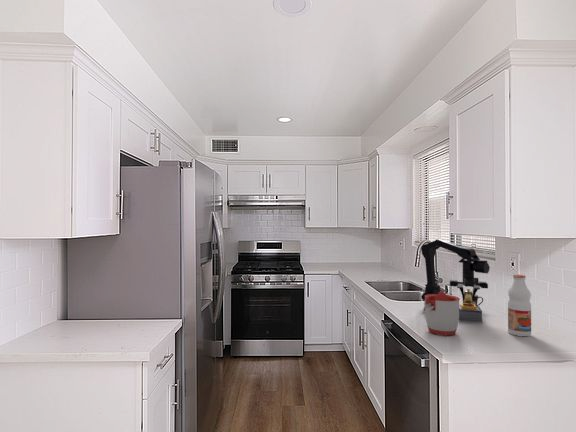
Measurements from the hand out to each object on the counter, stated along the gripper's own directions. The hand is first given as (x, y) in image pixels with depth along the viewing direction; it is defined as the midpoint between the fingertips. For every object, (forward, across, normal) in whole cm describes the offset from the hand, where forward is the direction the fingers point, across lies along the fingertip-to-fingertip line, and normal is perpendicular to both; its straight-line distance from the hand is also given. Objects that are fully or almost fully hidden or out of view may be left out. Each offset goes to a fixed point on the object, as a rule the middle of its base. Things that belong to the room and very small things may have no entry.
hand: (468, 299), depth 204 cm
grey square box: (+10, 0, 0) cm, 10 cm away
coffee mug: (+11, +4, +18) cm, 21 cm away
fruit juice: (+10, +20, -22) cm, 32 cm away
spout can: (+2, 0, 0) cm, 2 cm away
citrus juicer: (+11, -15, -34) cm, 38 cm away
